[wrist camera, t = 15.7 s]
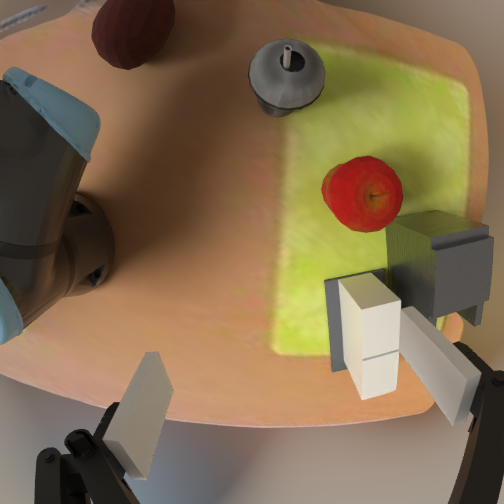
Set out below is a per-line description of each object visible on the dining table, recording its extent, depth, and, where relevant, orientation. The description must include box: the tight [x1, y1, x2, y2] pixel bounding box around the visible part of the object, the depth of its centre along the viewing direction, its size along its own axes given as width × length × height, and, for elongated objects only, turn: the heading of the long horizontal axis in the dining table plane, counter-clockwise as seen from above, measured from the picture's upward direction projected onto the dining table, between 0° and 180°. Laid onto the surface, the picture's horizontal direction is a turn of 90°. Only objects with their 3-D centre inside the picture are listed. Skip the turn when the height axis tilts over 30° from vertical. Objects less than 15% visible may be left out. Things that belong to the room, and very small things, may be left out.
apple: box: [321, 156, 403, 233], centre depth 34 cm, size 9×8×12 cm
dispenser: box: [386, 210, 494, 327], centre depth 35 cm, size 9×13×13 cm
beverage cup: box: [248, 39, 325, 117], centre depth 27 cm, size 7×7×20 cm
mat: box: [324, 268, 385, 372], centre depth 44 cm, size 9×16×1 cm, turn 10°
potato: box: [92, 0, 175, 70], centre depth 29 cm, size 11×13×10 cm
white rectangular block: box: [338, 273, 401, 400], centre depth 39 cm, size 5×14×10 cm, turn 11°
